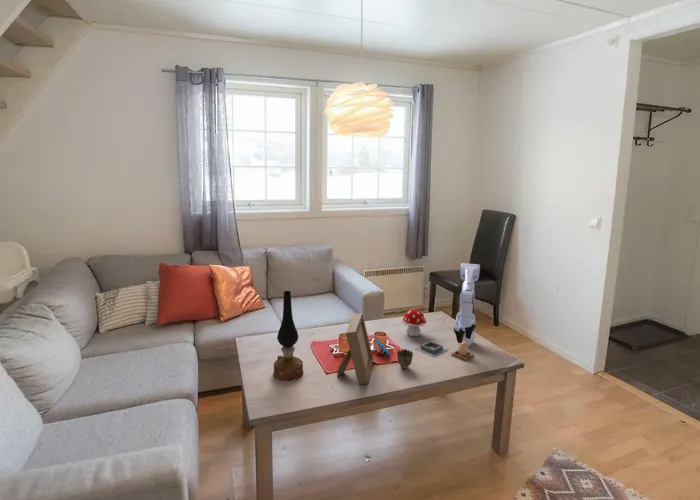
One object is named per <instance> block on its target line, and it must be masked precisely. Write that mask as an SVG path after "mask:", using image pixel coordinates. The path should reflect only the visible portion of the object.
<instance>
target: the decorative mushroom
mask: <svg viewBox="0 0 700 500" xmlns="http://www.w3.org/2000/svg"><path fill="white" fill-rule="evenodd" d="M401 323H402V324H403V325H405V326H407V327H406V331H405V332H406V334H407V336H408V337H412V338H413V337H414V338H417V337H419V336H420V335H421V328H420V327H423V326H425V325H426V324H427V319H426V318H425V315H424V313H423V312H422V311H421V310H420V309H417V308H410V309H407V311H405V313H404V316H403V317H402V318H401Z"/></svg>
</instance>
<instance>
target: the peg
mask: <svg viewBox="0 0 700 500" xmlns="http://www.w3.org/2000/svg"><path fill="white" fill-rule="evenodd" d="M468 348H469V346H468V343H467V342H465V341H462V343H461V344H460V343H459V345H458V349H457V350H458V355H459V356H462V357H464V358H465V357H467V352H468Z"/></svg>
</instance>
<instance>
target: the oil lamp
mask: <svg viewBox="0 0 700 500" xmlns="http://www.w3.org/2000/svg"><path fill="white" fill-rule="evenodd" d="M277 332H278V333H277V337H276V339H277V342H278V343H279V344H280V346H282V347H281V352H282V354H283V355H278V356H277V359H276V360H275V361H274V362H273V373H272V374H273V377H274V378H275V379H276V378H277V379H276V380H278V379H279V380H278V381H281V380H285V381H284V382H292V381H296V380H299V379H300V378H302V377H303V375H304V369H303V366H304V365H303V361H302V359H301V358H299V357H296V356H294V352H295V349H296V348H295V344H296V343H297V342H298V340H299V333H298V330H297V327H296V325H295V322H294V319H293V307H292V295H291V291H290V290H285V291H283V307H282V321H281V323H280V327H279V330H278V331H277ZM295 379H296V380H295ZM287 380H288V381H287ZM291 380H292V381H291Z"/></svg>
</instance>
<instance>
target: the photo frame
mask: <svg viewBox="0 0 700 500" xmlns="http://www.w3.org/2000/svg"><path fill="white" fill-rule="evenodd" d="M345 335H346V340H347V343H348V347H349V349H348V350H347V352H346V354H345V356H344V358H343V359H342V361H341V362H340V364H339V366H338V367H337V373H336V376H337V377H340V376H341V375H344V374H345V372H346V369H347V366H348V365H349V363H350V360H351V359H352V363H353V364H352V365H353V368H354V371H355V375H356V380H357V385H367V384H369V380H370V376H371V372H372V368H373V363H374V357H373V353H372V347H371V344H370V340H369V336H368V331H367V327H366V323H365V317H364V314H363V312H359V313H354V314H353V315H352V318H350V322H349V324H348V327H347V329H346V331H345Z"/></svg>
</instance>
